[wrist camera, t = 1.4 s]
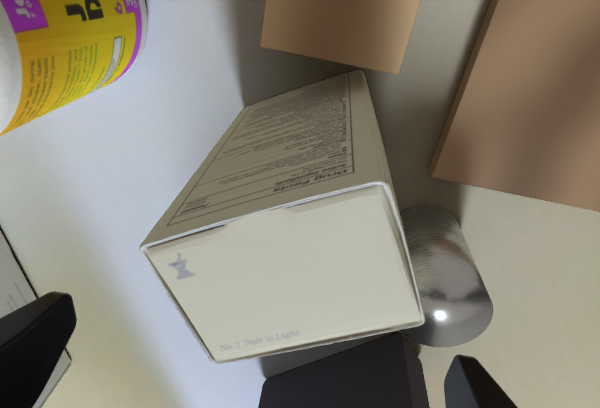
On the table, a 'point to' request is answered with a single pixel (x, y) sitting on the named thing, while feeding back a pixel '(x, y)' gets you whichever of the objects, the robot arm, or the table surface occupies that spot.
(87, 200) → the table surface
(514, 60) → the walnut board
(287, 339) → the skincare box
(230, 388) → the table surface
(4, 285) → the hard drive box
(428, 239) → the metal canister
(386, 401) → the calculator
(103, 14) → the supplement bottle
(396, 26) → the oak block
